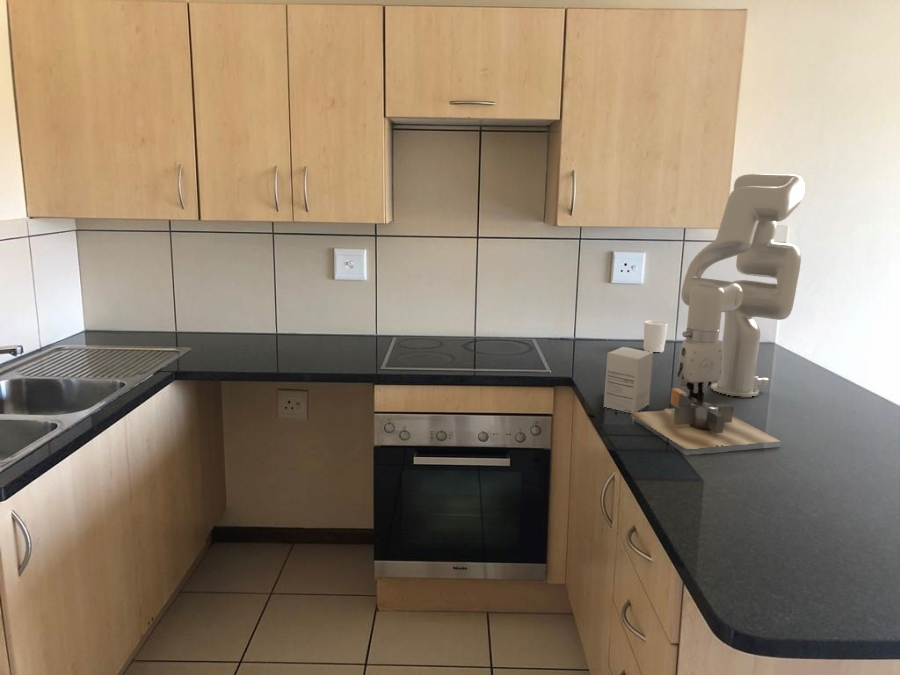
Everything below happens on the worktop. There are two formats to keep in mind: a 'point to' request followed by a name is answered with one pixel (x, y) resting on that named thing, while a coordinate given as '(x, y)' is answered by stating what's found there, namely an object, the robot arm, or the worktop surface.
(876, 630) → the worktop surface
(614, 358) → the supplement box
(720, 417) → the capstan
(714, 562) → the worktop surface
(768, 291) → the robot arm
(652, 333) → the white cup
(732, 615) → the worktop surface
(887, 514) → the worktop surface
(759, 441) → the stand plate
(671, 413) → the level window
